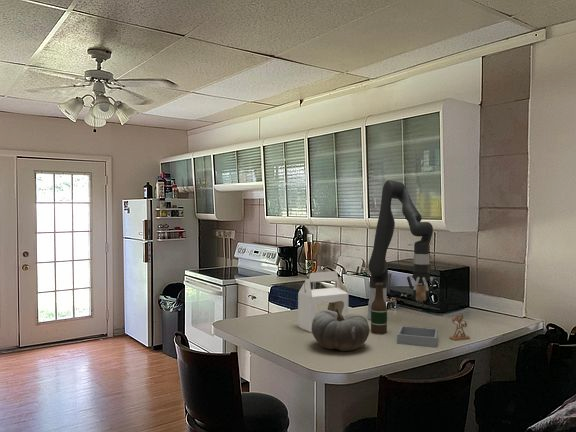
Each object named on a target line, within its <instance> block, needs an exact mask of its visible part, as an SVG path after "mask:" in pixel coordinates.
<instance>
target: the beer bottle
mask: <svg viewBox="0 0 576 432" xmlns="http://www.w3.org/2000/svg"><path fill="white" fill-rule="evenodd" d="M387 329H388V306H387V302H386V303H385V301H384V299H383V283H376V293H375V300H374V301H373V302H372V305H371V319H370V331H371V333H372V334H375V335H385V334H387V332H388V330H387Z"/></svg>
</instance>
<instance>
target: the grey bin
mask: <svg viewBox="0 0 576 432" xmlns="http://www.w3.org/2000/svg"><path fill="white" fill-rule="evenodd" d="M438 331H439V329H438V328H429V327H428V328H427V327H418V326H406V325H401V326H400V328H399V330H398V333H397V334H396V335H397V336H396V339H397V340H396V344H399V345H400V344H401V345H409V346H420V347H431V348H437V342H438V338H439V337H438Z"/></svg>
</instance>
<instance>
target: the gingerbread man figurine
mask: <svg viewBox="0 0 576 432" xmlns="http://www.w3.org/2000/svg"><path fill="white" fill-rule="evenodd" d="M451 321H452V323H453V325H456V329H455V331H454V333H453V335H451V336H449V337H448V339H449V340H452V341H464V340H470V339H471V338H470V336H468V335H467V334H466V333H465V331H464V328H467V327H468V323H467V321H466V320H464V315H463V313H461V312H458V313H456V316H454V317H452V319H451ZM455 321H456V322H457V323H455ZM462 322H464V323H462ZM460 329H461V330H462V332H461V330H460ZM459 334H460V335H459Z"/></svg>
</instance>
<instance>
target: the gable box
mask: <svg viewBox="0 0 576 432" xmlns="http://www.w3.org/2000/svg"><path fill="white" fill-rule="evenodd" d="M307 277H308V278H306V279H304V283H303V284H302V286H301V288H300V289H299V291H298V295H297V327H298V328H300V329H302V330H304V331H307V332H309V333H311V334H313V333H312V322H313V319H314V317H315V316H316V315H317V314H318V311H317V305H319V304H321V303H328V306H327V310H331V311H334V312H336V311H335V309H336V308H337V309H338V311H339V312H340V313H341V314H342V315H343V316H346V315H348V314H349V292H348V290H347V288H346V287H345V285H344V282H343V281H342V277H341V276H338V271H336V270H332V271H317V272H310V273H309V274H307ZM327 281H334V287H328V288H327V287H325V288H315V289H313V288H312V283H314V282H316V283H317V282H327Z"/></svg>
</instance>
